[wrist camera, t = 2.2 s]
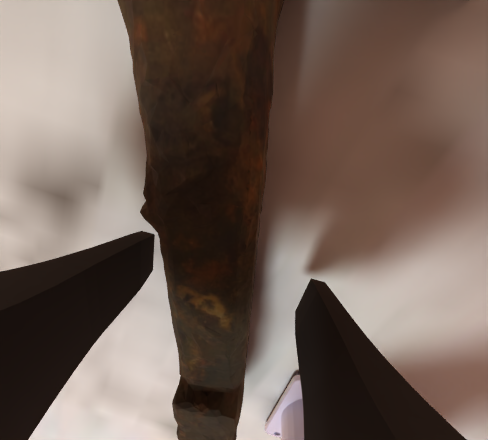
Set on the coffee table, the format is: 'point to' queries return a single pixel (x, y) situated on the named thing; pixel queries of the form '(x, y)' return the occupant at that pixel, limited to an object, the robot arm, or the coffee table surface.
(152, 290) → the coffee table surface
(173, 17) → the hand tool
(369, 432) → the robot arm
